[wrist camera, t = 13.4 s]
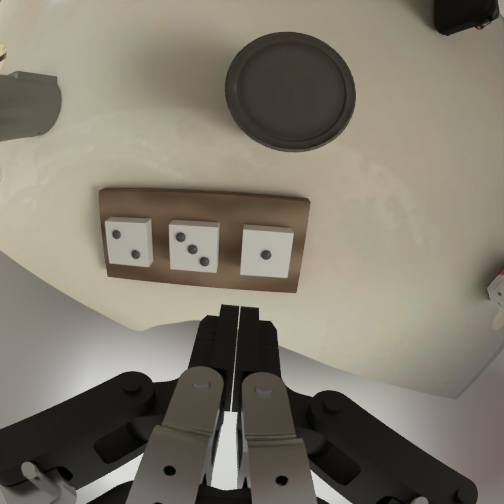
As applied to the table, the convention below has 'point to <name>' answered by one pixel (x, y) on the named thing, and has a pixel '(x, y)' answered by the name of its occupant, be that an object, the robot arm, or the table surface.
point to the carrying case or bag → (464, 14)
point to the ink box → (497, 291)
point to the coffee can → (290, 92)
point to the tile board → (207, 210)
